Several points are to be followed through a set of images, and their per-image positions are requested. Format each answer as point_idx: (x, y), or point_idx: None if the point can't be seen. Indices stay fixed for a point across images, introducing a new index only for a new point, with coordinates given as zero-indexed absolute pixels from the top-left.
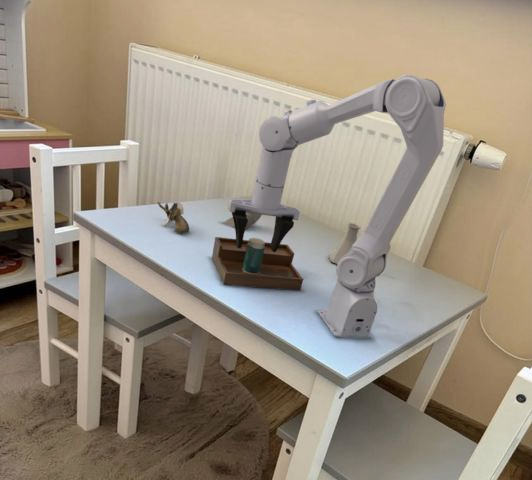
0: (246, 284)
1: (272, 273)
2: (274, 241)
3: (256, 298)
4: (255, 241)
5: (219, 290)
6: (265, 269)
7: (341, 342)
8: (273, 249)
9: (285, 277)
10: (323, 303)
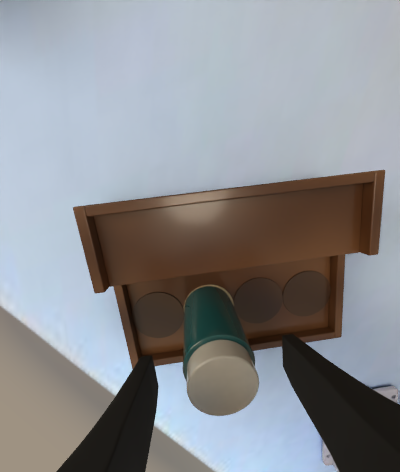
0: None
1: (266, 310)
2: (305, 391)
3: None
4: (214, 396)
5: (131, 369)
6: (251, 293)
7: (326, 466)
8: (287, 373)
9: None
10: (351, 356)
